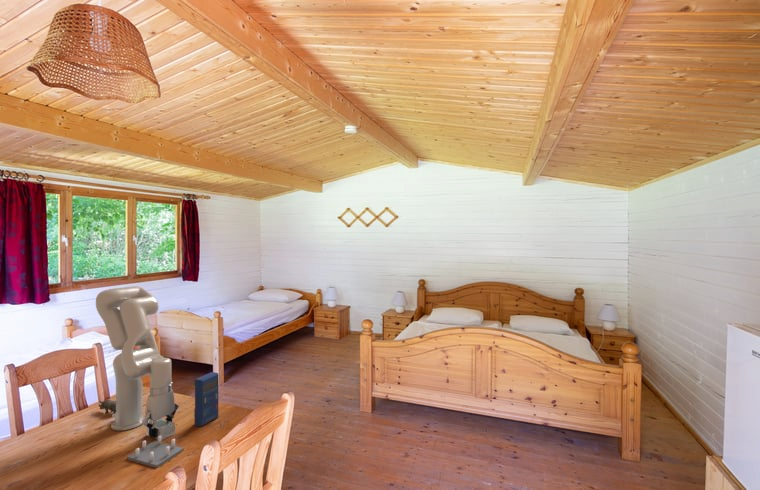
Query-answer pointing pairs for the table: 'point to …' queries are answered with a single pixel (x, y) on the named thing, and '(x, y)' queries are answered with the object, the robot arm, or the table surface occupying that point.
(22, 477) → the table surface
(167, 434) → the drive
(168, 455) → the grey pegged base plate
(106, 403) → the rhino figurine
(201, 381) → the electronic device
